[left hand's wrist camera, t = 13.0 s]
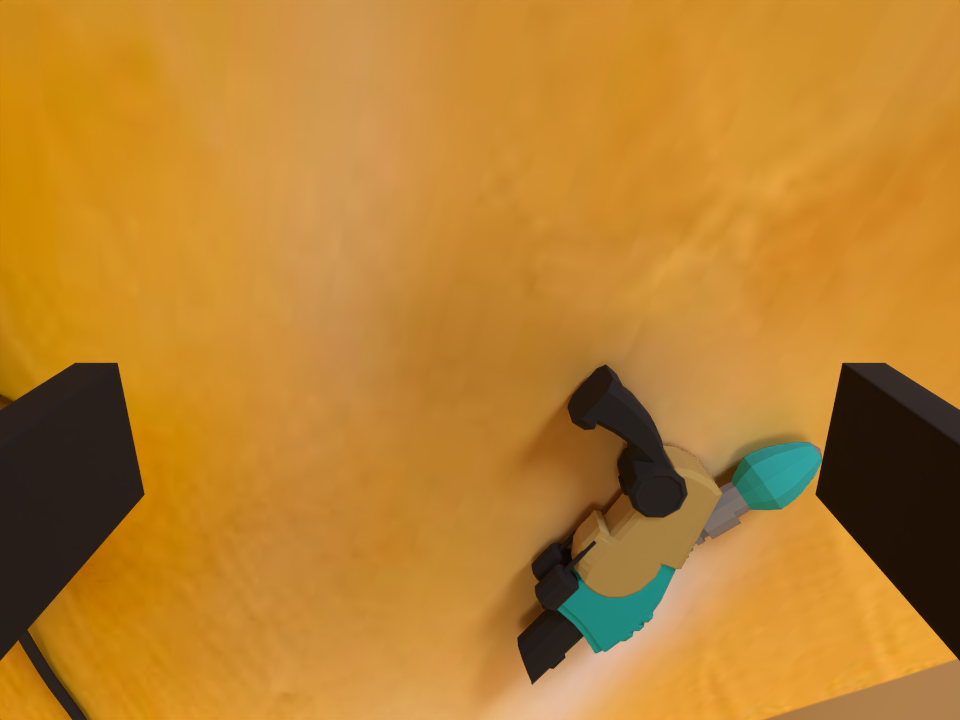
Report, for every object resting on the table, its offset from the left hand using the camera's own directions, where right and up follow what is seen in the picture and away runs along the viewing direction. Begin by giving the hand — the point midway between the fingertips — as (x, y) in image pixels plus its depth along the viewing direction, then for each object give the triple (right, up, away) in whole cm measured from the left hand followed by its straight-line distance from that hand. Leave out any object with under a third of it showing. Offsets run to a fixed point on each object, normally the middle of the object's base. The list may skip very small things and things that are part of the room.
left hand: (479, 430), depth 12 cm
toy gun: (+8, -9, +34) cm, 36 cm away
